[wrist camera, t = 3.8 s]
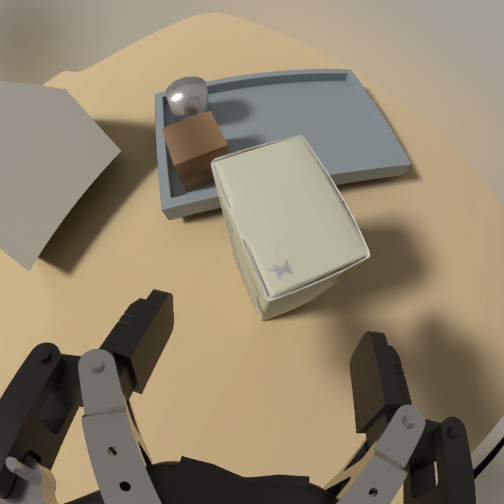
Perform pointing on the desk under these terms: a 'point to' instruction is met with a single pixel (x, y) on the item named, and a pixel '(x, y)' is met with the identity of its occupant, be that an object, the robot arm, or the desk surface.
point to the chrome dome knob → (188, 98)
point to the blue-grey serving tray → (288, 129)
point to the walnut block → (195, 148)
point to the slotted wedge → (44, 164)
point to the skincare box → (286, 224)
